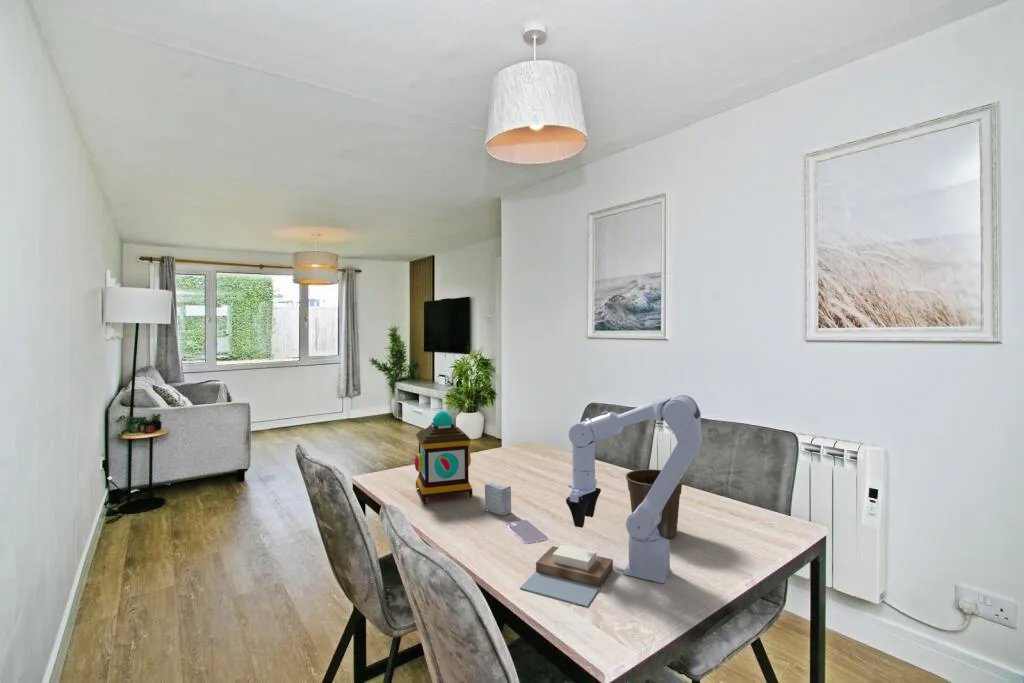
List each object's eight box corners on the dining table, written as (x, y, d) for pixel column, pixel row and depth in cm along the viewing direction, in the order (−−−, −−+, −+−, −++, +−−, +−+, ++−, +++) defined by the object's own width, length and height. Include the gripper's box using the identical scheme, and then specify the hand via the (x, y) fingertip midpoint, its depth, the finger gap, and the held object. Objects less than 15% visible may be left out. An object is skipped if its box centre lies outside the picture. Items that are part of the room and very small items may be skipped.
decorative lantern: (464, 483, 190) (463, 405, 189) (477, 499, 171) (476, 413, 171) (411, 488, 184) (410, 408, 183) (419, 506, 165) (417, 417, 164)
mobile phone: (524, 542, 136) (503, 522, 150) (524, 545, 136) (503, 525, 150) (549, 537, 139) (526, 518, 153) (549, 540, 139) (526, 521, 153)
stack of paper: (511, 512, 159) (511, 486, 159) (502, 516, 156) (501, 489, 156) (494, 507, 164) (494, 481, 164) (484, 510, 161) (484, 484, 161)
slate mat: (599, 589, 112) (599, 587, 112) (587, 607, 105) (587, 605, 105) (535, 573, 120) (535, 571, 120) (520, 588, 113) (520, 587, 113)
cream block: (596, 559, 121) (596, 551, 121) (588, 570, 116) (588, 561, 116) (562, 552, 125) (562, 544, 125) (552, 562, 120) (552, 553, 120)
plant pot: (614, 526, 148) (614, 472, 148) (657, 517, 154) (657, 466, 154) (649, 548, 133) (649, 488, 133) (696, 537, 139) (696, 480, 139)
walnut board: (612, 569, 121) (612, 559, 121) (599, 588, 112) (599, 577, 112) (552, 555, 129) (552, 546, 129) (536, 572, 120) (536, 562, 120)
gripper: (578, 460, 136) (579, 509, 136) (558, 474, 123) (558, 528, 123) (603, 463, 132) (604, 513, 133) (585, 477, 120) (585, 533, 120)
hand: (584, 521), depth 128 cm, fingers open, 7 cm apart
